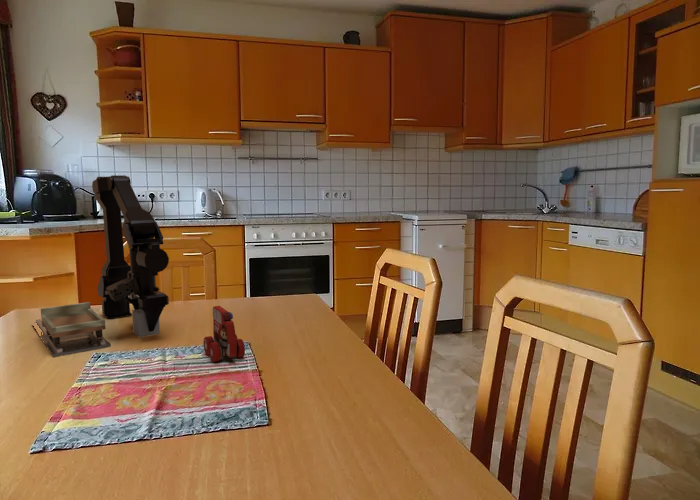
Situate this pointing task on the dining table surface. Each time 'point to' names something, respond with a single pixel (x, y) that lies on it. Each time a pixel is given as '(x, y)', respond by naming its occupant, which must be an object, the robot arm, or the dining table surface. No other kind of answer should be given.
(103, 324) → the cart
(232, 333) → the toy fire truck
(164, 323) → the dining table surface
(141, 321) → the part block
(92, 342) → the track
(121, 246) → the robot arm
